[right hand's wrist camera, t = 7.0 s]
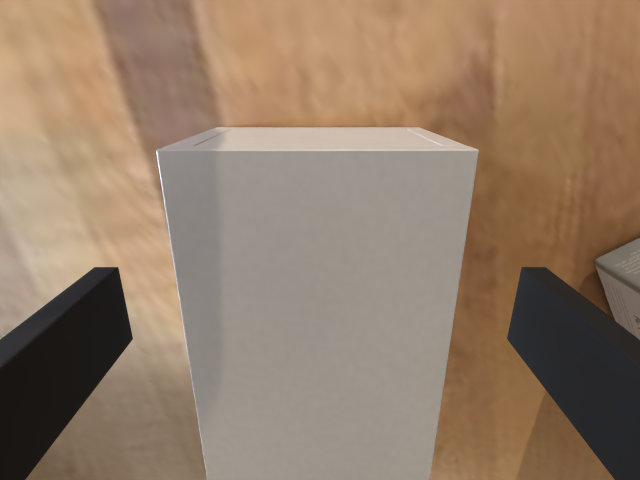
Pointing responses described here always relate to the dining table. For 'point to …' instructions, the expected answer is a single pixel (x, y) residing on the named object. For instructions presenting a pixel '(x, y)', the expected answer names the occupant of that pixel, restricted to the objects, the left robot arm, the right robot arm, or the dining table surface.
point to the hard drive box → (622, 284)
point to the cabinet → (318, 294)
